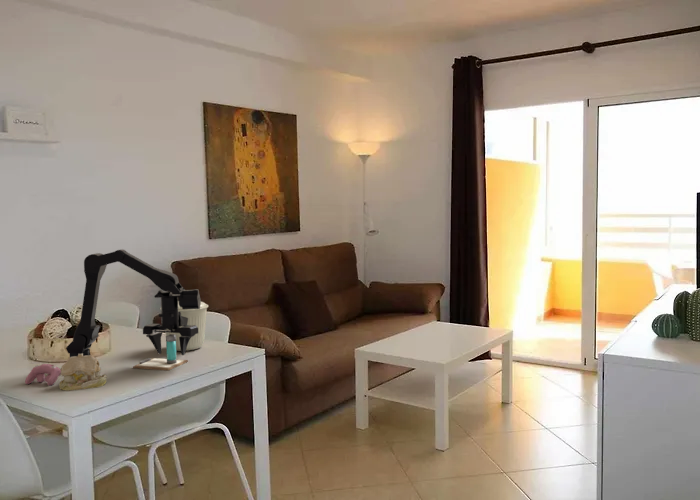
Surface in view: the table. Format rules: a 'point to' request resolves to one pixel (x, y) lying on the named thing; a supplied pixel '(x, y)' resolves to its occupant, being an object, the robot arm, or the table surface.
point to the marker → (171, 348)
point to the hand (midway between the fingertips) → (171, 354)
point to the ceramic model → (81, 373)
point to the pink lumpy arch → (39, 374)
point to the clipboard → (158, 364)
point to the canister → (194, 318)
